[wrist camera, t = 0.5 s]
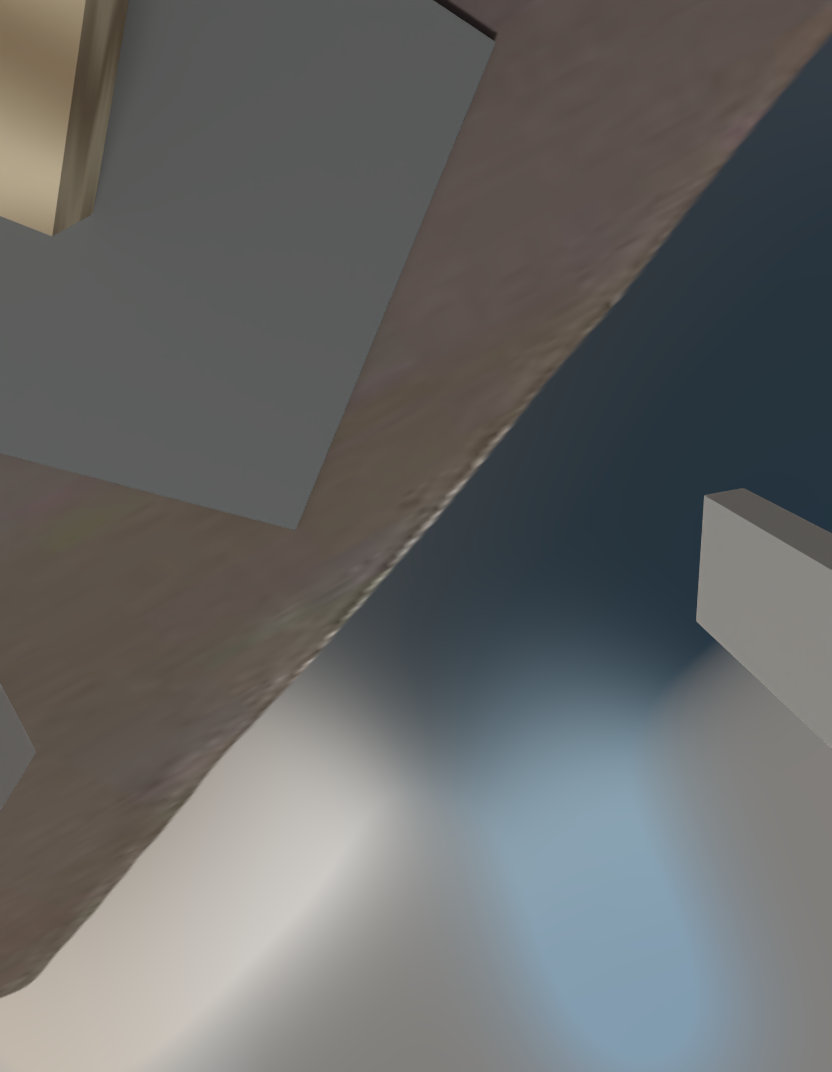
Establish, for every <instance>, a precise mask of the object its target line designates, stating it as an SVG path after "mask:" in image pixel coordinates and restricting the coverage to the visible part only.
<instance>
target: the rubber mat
mask: <svg viewBox="0 0 832 1072" xmlns="http://www.w3.org/2000/svg"><path fill="white" fill-rule="evenodd" d="M495 43H496V42H495V41H493V40H492V39H490V38H489V37H487V36H486V35H484V34H483V33H482V32H480V31H479V30H477V29H476V28H474V27H473V26H471V25H470V24H468V23H467V22H465V21H464V20H462V19H461V18H459V17H458V16H456V15H455V14H453V13H452V12H450V11H449V10H447V9H446V8H444V7H443V6H441V5H440V4H438V3H437V2H435V1H434V0H129V3H128V9H127V15H126V20H125V26H124V32H123V38H122V44H121V50H120V56H119V62H118V68H117V74H116V80H115V85H114V91H113V97H112V103H111V109H110V115H109V121H108V127H107V133H106V139H105V145H104V150H103V156H102V162H101V168H100V174H99V180H98V186H97V192H96V198H95V204H94V210H93V214H92V215H90V216H88V217H87V218H85V219H83V220H81V221H79V222H77V223H76V224H74V225H72V226H70V227H68V228H67V229H65V230H63V231H61V232H59V233H57V234H56V235H54V236H50V235H47V234H45V233H42V232H40V231H37V230H35V229H32V228H29V227H27V226H24V225H22V224H19V223H17V222H14V221H12V220H9V219H6V218H4V217H1V216H0V453H1V454H5V455H9V456H13V457H16V458H20V459H24V460H28V461H32V462H36V463H39V464H43V465H47V466H51V467H55V468H59V469H62V470H66V471H70V472H74V473H78V474H82V475H85V476H89V477H93V478H97V479H101V480H105V481H108V482H112V483H116V484H120V485H124V486H128V487H131V488H135V489H139V490H143V491H147V492H151V493H154V494H158V495H162V496H166V497H170V498H174V499H177V500H181V501H185V502H189V503H193V504H197V505H200V506H204V507H208V508H212V509H216V510H220V511H223V512H227V513H231V514H235V515H239V516H243V517H246V518H250V519H254V520H258V521H262V522H266V523H269V524H273V525H277V526H281V527H285V528H289V529H292V530H296V528H297V526H298V523H299V521H300V518H301V516H302V513H303V511H304V509H305V506H306V504H307V501H308V499H309V496H310V494H311V491H312V489H313V487H314V484H315V482H316V479H317V477H318V474H319V472H320V470H321V467H322V465H323V462H324V460H325V457H326V455H327V452H328V450H329V448H330V445H331V443H332V440H333V438H334V435H335V433H336V430H337V428H338V426H339V423H340V421H341V418H342V416H343V413H344V411H345V409H346V406H347V404H348V401H349V399H350V396H351V394H352V391H353V389H354V387H355V384H356V382H357V379H358V377H359V374H360V372H361V369H362V367H363V365H364V362H365V360H366V357H367V355H368V352H369V350H370V348H371V345H372V343H373V340H374V338H375V335H376V333H377V330H378V328H379V326H380V323H381V321H382V318H383V316H384V313H385V311H386V309H387V306H388V304H389V301H390V299H391V296H392V294H393V291H394V289H395V287H396V284H397V282H398V279H399V277H400V274H401V272H402V269H403V267H404V265H405V262H406V260H407V257H408V255H409V252H410V250H411V248H412V245H413V243H414V240H415V238H416V235H417V233H418V230H419V228H420V226H421V223H422V221H423V218H424V216H425V213H426V211H427V208H428V206H429V204H430V201H431V199H432V196H433V194H434V191H435V189H436V187H437V184H438V182H439V179H440V177H441V174H442V172H443V169H444V167H445V165H446V162H447V160H448V157H449V155H450V152H451V150H452V147H453V145H454V143H455V140H456V138H457V135H458V133H459V130H460V128H461V126H462V123H463V121H464V118H465V116H466V113H467V111H468V108H469V106H470V104H471V101H472V99H473V96H474V94H475V91H476V89H477V87H478V84H479V82H480V79H481V77H482V74H483V72H484V69H485V67H486V65H487V62H488V60H489V57H490V55H491V52H492V50H493V47H494V45H495Z"/></svg>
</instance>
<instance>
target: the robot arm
mask: <svg viewBox="0 0 832 1072" xmlns="http://www.w3.org/2000/svg"><path fill="white" fill-rule="evenodd" d="M703 510H704V511H703V525H702V540H701V555H700V571H699V572H700V573H699V587H698V601H697V617H696V621H697V622H698V623H699V624H700V625H701V626H702V627H703V628H704V629H705V630H706V631H707V632H708V633H709V634H711V636H713V637H714V638H715V639H716V640H717V641H718V642H719V643H720V644H721V645H722V646H723V647H724V648H725V649H726V650H728V651H729V652H730V653H731V654H732V655H733V656H734V657H735V658H736V659H737V660H738V661H739V662H740V663H741V664H742V665H744V667H745V668H747V669H748V670H749V671H750V672H751V673H752V674H753V675H754V676H755V677H756V678H757V679H758V680H759V681H761V683H762V684H764V685H765V686H766V687H767V688H768V689H769V690H770V691H771V692H772V693H773V694H774V695H775V696H776V697H777V698H778V699H779V700H780V701H782V702H783V703H784V704H785V705H786V706H787V707H788V708H789V709H790V710H791V711H792V712H793V713H794V714H795V715H797V716H798V717H799V718H800V719H801V720H802V721H803V722H804V723H805V724H806V725H807V726H808V727H809V728H810V729H811V730H812V731H813V732H815V733H816V734H817V735H818V736H819V737H820V738H821V739H822V740H823V741H824V742H825V743H826V744H827V745H828V746H829V747H831V749H832V534H831V533H830V532H828V531H826V530H824V529H822V528H820V527H818V526H816V525H814V524H812V523H810V522H808V521H806V520H804V519H802V518H801V517H799V516H797V515H795V514H793V513H791V512H789V511H787V510H785V509H783V508H781V507H779V506H777V505H775V504H773V503H771V502H769V501H767V500H766V499H763V498H762V497H760V496H758V495H756V494H754V493H752V492H750V491H748V490H746V489H744V488H742V489H736V490H731V491H725V492H720V493H714V494H709V495H704V509H703ZM35 753H36V751H35V749H34V747H33V745H32V743H31V741H30V739H29V737H28V735H27V733H26V731H25V730H24V728H23V726H22V724H21V722H20V720H19V718H18V716H17V714H16V712H15V710H14V709H13V707H12V705H11V703H10V701H9V699H8V697H7V695H6V693H5V691H4V689H3V688H2V686H1V684H0V811H1V809H2V807H3V806H4V804H5V802H6V801H7V799H8V797H9V796H10V794H11V792H12V791H13V789H14V788H15V786H16V784H17V783H18V781H19V779H20V778H21V776H22V774H23V773H24V771H25V769H26V768H27V766H28V765H29V763H30V761H31V760H32V758H33V756H34V755H35Z"/></svg>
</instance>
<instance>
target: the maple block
mask: <svg viewBox="0 0 832 1072" xmlns="http://www.w3.org/2000/svg"><path fill="white" fill-rule="evenodd" d="M128 3H129V0H0V216H1V217H4V218H6V219H9V220H12V221H14V222H17V223H19V224H22V225H24V226H27V227H29V228H32V229H35V230H37V231H40V232H42V233H45V234H47V235H50V236H54V235H56V234H57V233H59V232H61V231H63V230H65V229H67V228H68V227H70V226H72V225H74V224H76V223H77V222H79V221H81V220H83V219H85V218H87V217H88V216H90V215H92V214H93V210H94V204H95V198H96V192H97V186H98V180H99V174H100V168H101V162H102V156H103V150H104V145H105V139H106V133H107V127H108V121H109V115H110V109H111V103H112V97H113V91H114V85H115V80H116V74H117V68H118V62H119V56H120V50H121V44H122V38H123V32H124V26H125V20H126V15H127V9H128Z"/></svg>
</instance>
